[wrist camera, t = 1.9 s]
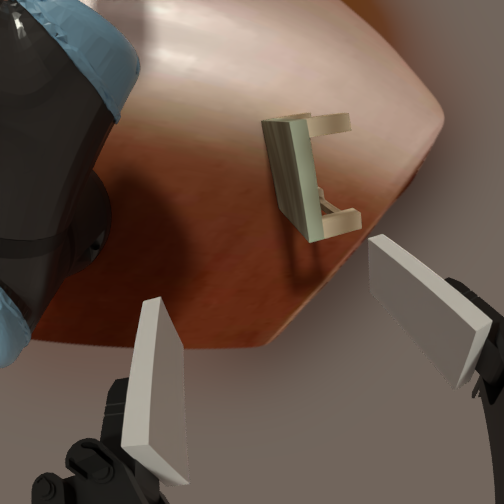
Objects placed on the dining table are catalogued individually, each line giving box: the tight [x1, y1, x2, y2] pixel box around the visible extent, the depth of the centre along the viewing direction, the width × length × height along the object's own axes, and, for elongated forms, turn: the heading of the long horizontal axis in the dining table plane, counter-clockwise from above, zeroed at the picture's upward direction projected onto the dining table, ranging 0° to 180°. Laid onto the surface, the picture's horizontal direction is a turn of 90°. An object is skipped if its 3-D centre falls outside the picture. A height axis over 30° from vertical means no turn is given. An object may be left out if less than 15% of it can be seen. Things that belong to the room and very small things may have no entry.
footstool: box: [261, 113, 362, 243], centre depth 31 cm, size 6×11×11 cm, turn 12°
